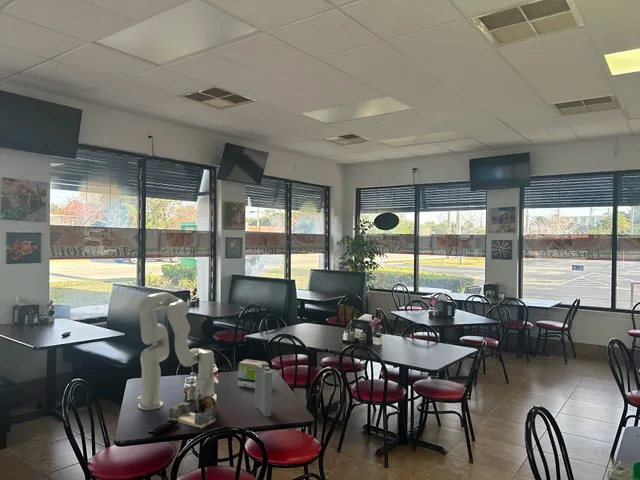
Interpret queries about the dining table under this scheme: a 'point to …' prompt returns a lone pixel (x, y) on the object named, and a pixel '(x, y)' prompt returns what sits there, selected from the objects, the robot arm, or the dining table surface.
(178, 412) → the stand
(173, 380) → the dining table surface
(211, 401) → the tin
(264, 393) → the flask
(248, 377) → the retro computer
